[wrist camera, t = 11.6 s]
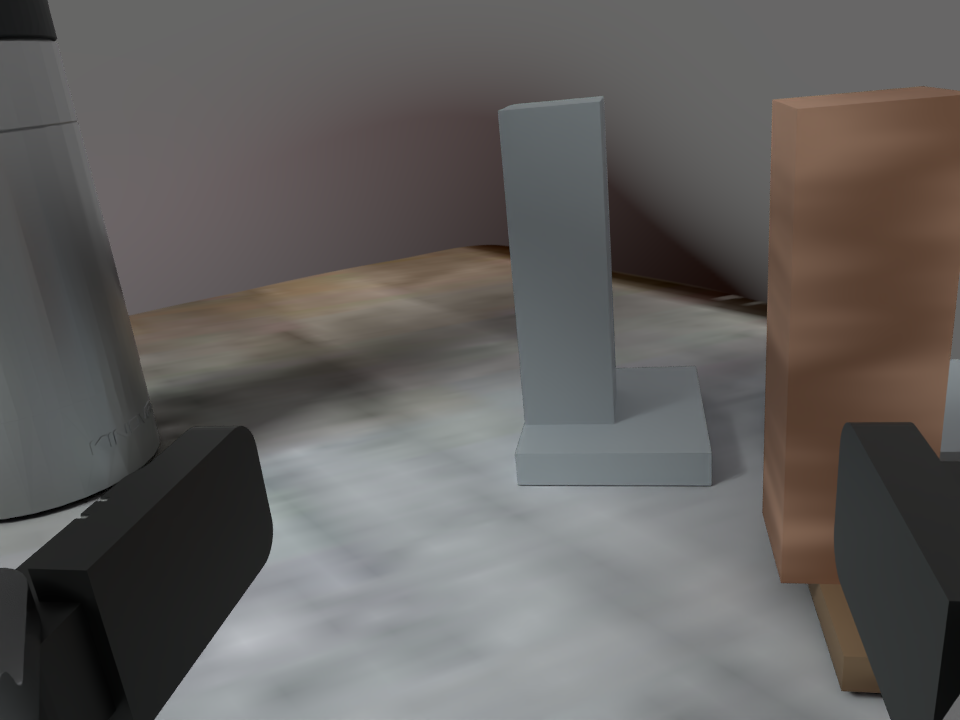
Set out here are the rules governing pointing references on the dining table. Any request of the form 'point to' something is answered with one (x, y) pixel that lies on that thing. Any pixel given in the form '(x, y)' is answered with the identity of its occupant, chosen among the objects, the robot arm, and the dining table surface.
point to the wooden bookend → (853, 311)
